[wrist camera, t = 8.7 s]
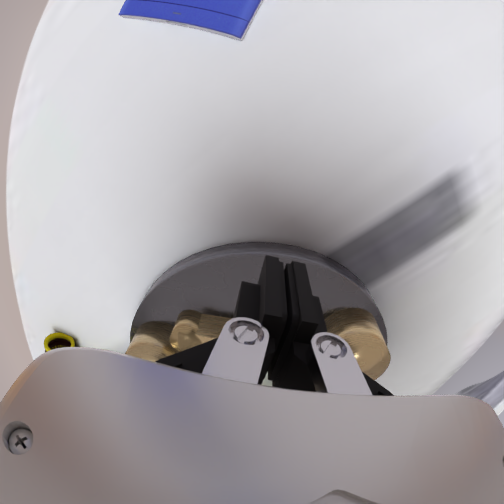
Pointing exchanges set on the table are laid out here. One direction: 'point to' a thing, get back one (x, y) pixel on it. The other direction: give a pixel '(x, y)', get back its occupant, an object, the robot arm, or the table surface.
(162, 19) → the hard drive
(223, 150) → the table surface
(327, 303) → the base
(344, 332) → the tan knobbed bar
